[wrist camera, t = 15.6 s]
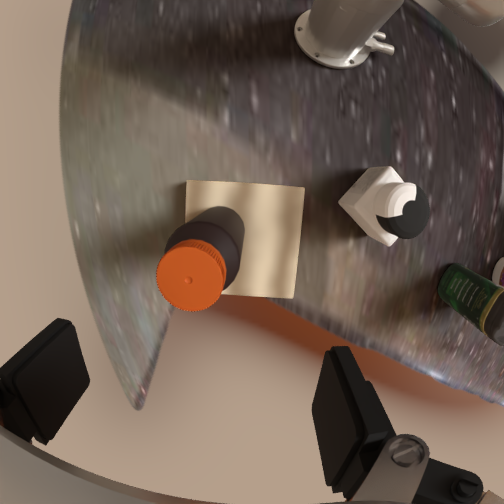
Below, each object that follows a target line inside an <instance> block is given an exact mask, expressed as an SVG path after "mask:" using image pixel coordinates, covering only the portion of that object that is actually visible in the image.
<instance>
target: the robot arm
mask: <svg viewBox="0 0 504 504" xmlns="http://www.w3.org/2000/svg"><path fill="white" fill-rule="evenodd" d="M439 1H440V2H441V3H443V4H444V5H445V6H446V7H448V8H449V9H450V10H451V11H453V12H454V13H455V14H456V15H458V16H459V17H461V18H462V19H463V20H465V21H466V22H468V23H470V24H472V25H475V26H481V27H483V26H489V25H492V24H494V23H496V22H497V21H499V20H501V19H502V18H503V17H504V0H439ZM403 2H404V0H314V2H313V5H312V8H311V9H310V10H307V11H306V12H304V13H303V14H302V15H301V16H300V17H299V18H298V20H297V21H296V24H295V29H294V35H295V39H296V42H297V44H298V45H299V47H300V48H301V50H302V51H303V52H304V53H305V54H306V55H307V56H308V57H310V58H311V59H312V60H314V61H316V62H317V63H319V64H322V65H324V66H327V67H330V68H335V69H349V68H354V67H356V66H358V65H360V64H361V63H362V62H364V61H365V59H366V58H367V57H368V55H369V53H370V51H371V52H374V51H379V52H381V53H384V54H387V55H390V56H392V55H393V53H394V47H393V46H392V45H389V44H386V43H381V42H378V41H376V39H374V38H372V37H375V38H377V39H380V40H385V33H382V32H378V30H379V29H380V28H381V27H382V26H383V24H384V23H385V22H386V21H387V20H388V19H389V18H390V17H391V16H392V15H393V13H394V12H395V11H396V10H397V9H398V8H399V7H400V6H401V5H402V3H403ZM316 56H317V57H316ZM350 63H351V64H350ZM89 383H90V378H89V375H88V371H87V368H86V365H85V362H84V359H83V355H82V352H81V348H80V345H79V341H78V337H77V333H76V329H75V327H74V325H72V322H71V321H69V320H65V319H61V318H57V319H56V320H54V321H53V322H52V323H51V324H49V325H48V326H47V327H46V328H45V329H44V330H42V331H41V332H40V333H39V334H38V335H36V336H35V337H34V338H33V339H32V340H31V341H29V342H28V343H27V344H26V345H25V346H24V347H23V348H22V349H20V351H18V352H17V353H16V354H15V355H14V356H13V357H12V358H11V359H9V361H7V362H6V363H5V364H4V365H3V366H2V367H1V368H0V504H224V503H214V502H206V501H199V500H192V499H186V498H179V497H175V496H169V495H165V494H160V493H155V492H151V491H148V490H144V489H140V488H136V487H133V486H129V485H126V484H123V483H119V482H116V481H113V480H110V479H107V478H105V477H102V476H99V475H96V474H94V473H91V472H88V471H86V470H83V469H81V468H78V467H76V466H74V465H72V464H69V463H67V462H65V461H63V460H60V459H59V458H56V457H54V456H53V455H50V454H48V453H47V452H45V451H42V450H41V449H39V448H37V447H35V446H34V445H32V440H31V439H32V437H33V436H34V438H35V439H36V440H37V441H39V442H40V443H42V444H44V445H47V443H48V442H49V440H52V439H53V438H54V436H55V435H56V433H57V432H58V430H59V429H60V427H61V426H62V424H63V423H64V421H65V420H66V418H67V416H68V415H69V414H70V412H71V411H72V409H73V408H74V406H75V405H76V403H77V402H78V400H79V399H80V398H81V396H82V395H83V393H84V392H85V390H86V389H87V388H88V386H89ZM312 415H313V420H314V425H315V430H316V435H317V440H318V445H319V450H320V455H321V460H322V466H323V471H324V476H325V481H326V485H327V486H332V491H333V493H338V492H343V496H344V498H346V500H345V502H334V503H321V504H504V499H502V498H501V497H499V496H497V495H496V494H494V493H493V492H491V491H490V490H488V491H487V492H486V493H485V492H484V491H483V484H482V481H481V479H480V478H479V477H478V476H477V475H476V474H474V473H472V472H470V471H466V470H463V469H460V468H457V467H454V466H451V465H448V464H445V463H442V462H440V461H437V460H434V459H431V458H429V455H430V452H429V447H428V446H427V444H426V443H425V442H424V441H423V440H422V439H421V438H419V437H417V436H415V435H410V434H400V435H396V433H395V431H394V429H393V427H392V425H391V422H390V420H389V418H388V416H387V414H386V412H385V410H384V408H383V406H382V404H381V402H380V399H379V397H378V395H377V393H376V391H375V389H374V387H373V385H372V384H371V382H370V381H365V379H364V377H363V375H362V373H361V371H360V368H359V366H358V364H357V362H356V360H355V358H354V356H353V354H352V352H351V350H350V348H349V347H348V346H335V347H334V346H333V347H332V348H331V350H330V351H326V352H325V355H324V360H323V364H322V368H321V372H320V376H319V380H318V384H317V389H316V392H315V396H314V400H313V403H312Z"/></svg>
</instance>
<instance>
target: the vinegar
mask: <svg viewBox="0 0 504 504" xmlns="http://www.w3.org/2000/svg"><path fill="white" fill-rule="evenodd" d="M244 234H245V227H244V223H243V221H242V219H241V217H240V215H239V214H238V213H236V212H235V211H234V210H233V209H230V208H228V207H225V206H216V207H211V208H209V209H207V210H206V211H204V212H202V213H201V214H199V215H198V216H196V217H195V218H193V219H192V220H190V221H189V222H187V223H185V224H184V225H182V226H181V227H179V228H178V229H177V230H176V231H175V232H174V233H173V234H172V236H171V237H170V238H169V240H168V243H167V245H166V248H165V255H163V257H162V258H161V260H160V262H159V265H157V266H158V267H157V273H156V274H157V276H156V277H157V279H156V280H157V283H158V284H157V285H158V286H159V287H158V288H159V289H160V290H159V291H161V293H162V294H163V295H162V296H164V298H165V299H166V300H167V301H168V302H170V304H172V306H175V307H178V308H180V309H182V310H188V311H196V310H197V311H198V310H203V309H206V307H207V308H208V306H211V305H213V303H215V301H217V299H218V298H219V297H220V294H221V293H222V291H223V290H225V289H227V288H228V287H229V286H230V285H231V283H232V282H233V281H234V280H235V278H236V276H237V274H238V272H239V269H240V262H241V255H242V248H243V242H244Z"/></svg>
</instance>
